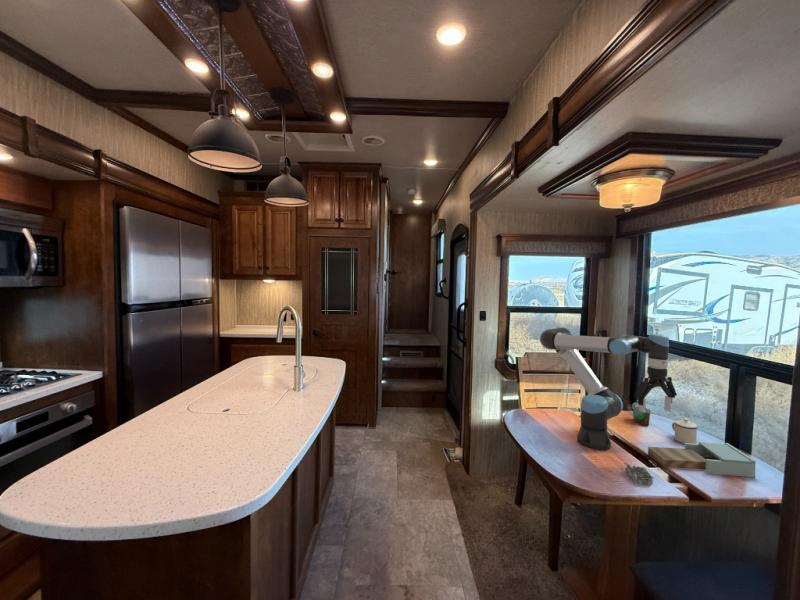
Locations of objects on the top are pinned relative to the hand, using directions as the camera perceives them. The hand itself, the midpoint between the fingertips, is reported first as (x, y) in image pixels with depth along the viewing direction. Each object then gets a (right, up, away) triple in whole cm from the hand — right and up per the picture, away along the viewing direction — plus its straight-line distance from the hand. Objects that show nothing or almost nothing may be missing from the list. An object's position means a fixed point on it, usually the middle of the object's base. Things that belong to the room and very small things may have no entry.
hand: (654, 410), depth 162 cm
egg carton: (-22, -22, -20) cm, 37 cm away
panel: (+5, -21, -7) cm, 23 cm away
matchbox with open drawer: (+19, -21, -11) cm, 30 cm away
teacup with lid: (+25, -20, +14) cm, 35 cm away
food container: (+17, -19, +36) cm, 44 cm away
